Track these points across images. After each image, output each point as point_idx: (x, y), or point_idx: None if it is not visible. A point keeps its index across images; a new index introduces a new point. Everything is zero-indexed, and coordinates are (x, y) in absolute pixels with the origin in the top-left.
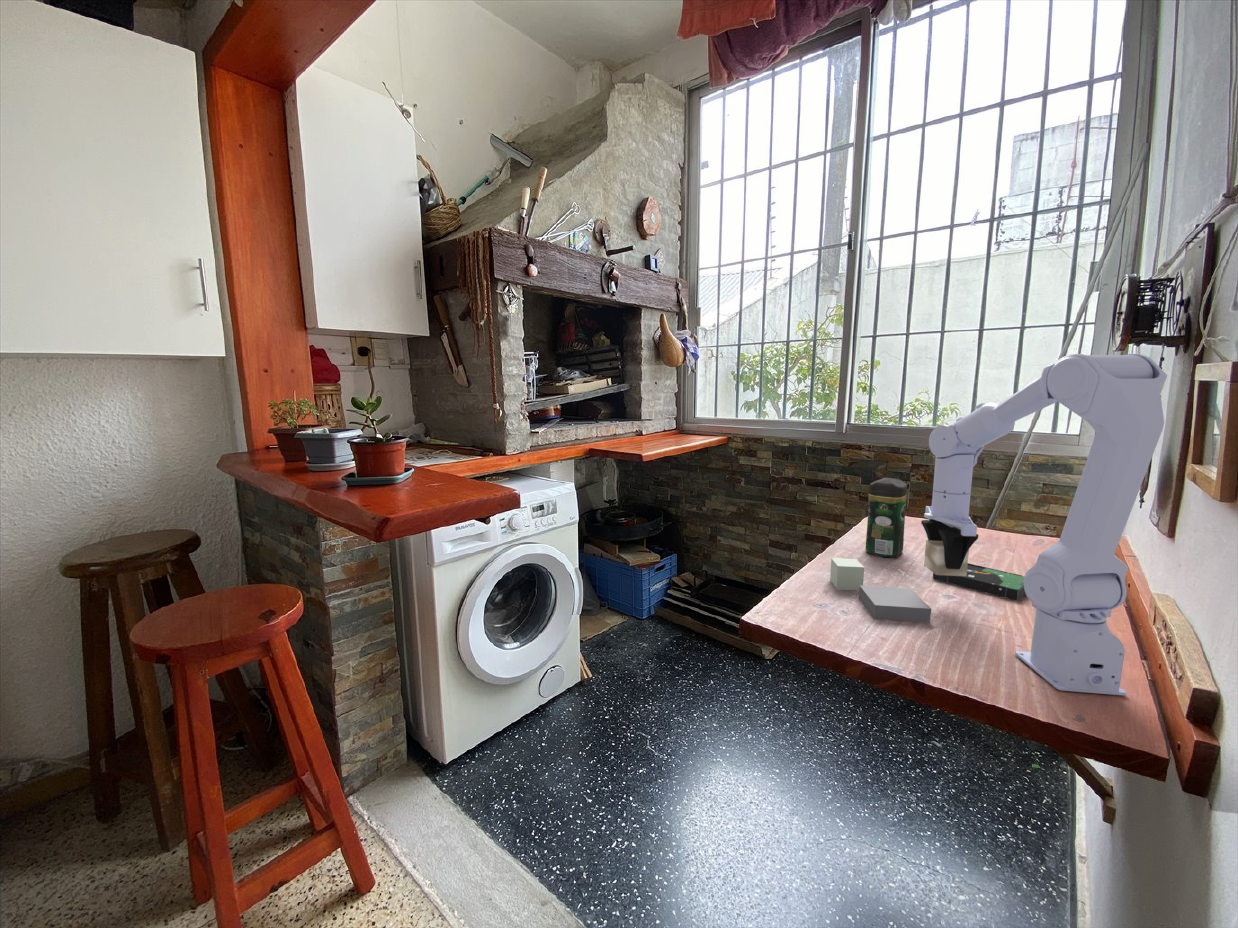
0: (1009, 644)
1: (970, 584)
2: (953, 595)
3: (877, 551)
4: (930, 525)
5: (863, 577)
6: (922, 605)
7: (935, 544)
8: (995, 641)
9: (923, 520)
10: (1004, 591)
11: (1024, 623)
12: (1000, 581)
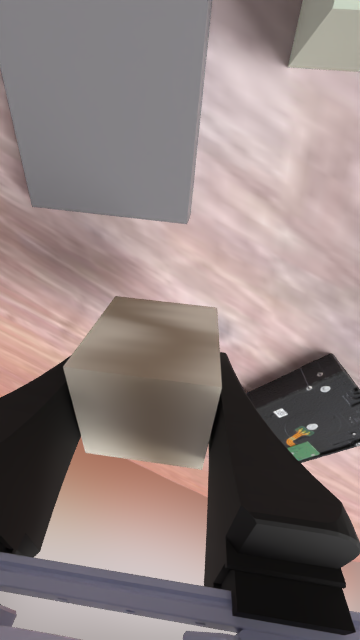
0: (9, 306)
1: (262, 393)
2: (226, 340)
3: None
4: (231, 511)
5: (308, 40)
6: (48, 190)
7: (138, 388)
8: (11, 291)
9: (346, 547)
10: None
11: None
12: None
